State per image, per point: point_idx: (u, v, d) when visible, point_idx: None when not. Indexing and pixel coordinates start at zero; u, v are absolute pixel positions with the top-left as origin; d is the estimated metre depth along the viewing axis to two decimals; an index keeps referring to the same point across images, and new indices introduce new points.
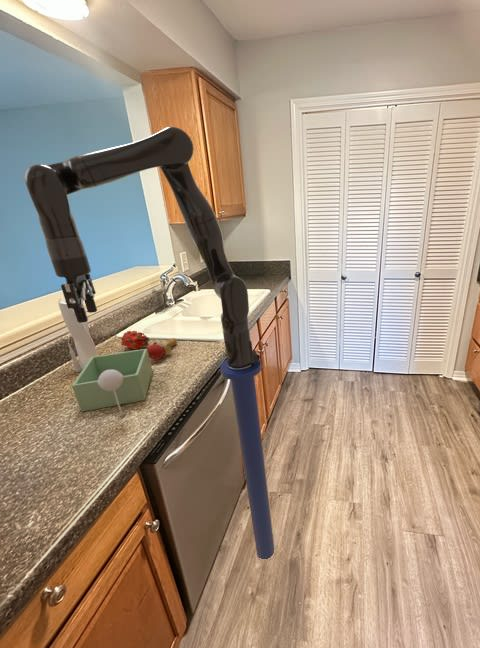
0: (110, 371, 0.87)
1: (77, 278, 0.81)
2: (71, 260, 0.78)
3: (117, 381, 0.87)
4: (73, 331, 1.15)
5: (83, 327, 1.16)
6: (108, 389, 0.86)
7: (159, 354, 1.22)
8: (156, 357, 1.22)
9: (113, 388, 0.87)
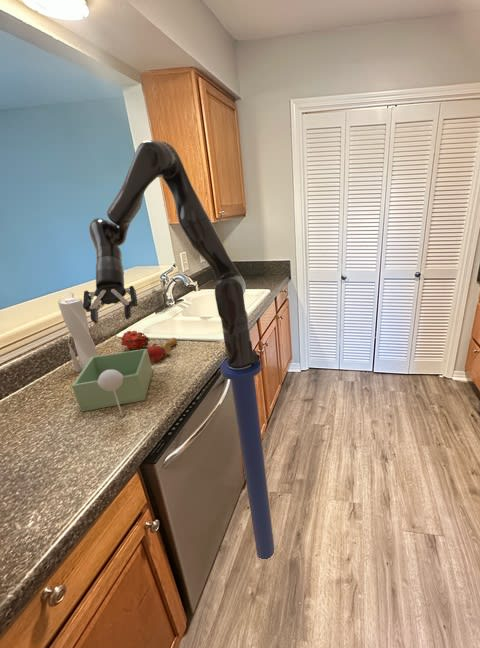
0: (110, 371, 0.87)
1: (101, 288, 0.98)
2: None
3: (117, 381, 0.87)
4: (73, 331, 1.15)
5: (83, 327, 1.16)
6: (108, 389, 0.86)
7: (158, 355, 1.23)
8: (155, 358, 1.22)
9: (113, 388, 0.87)
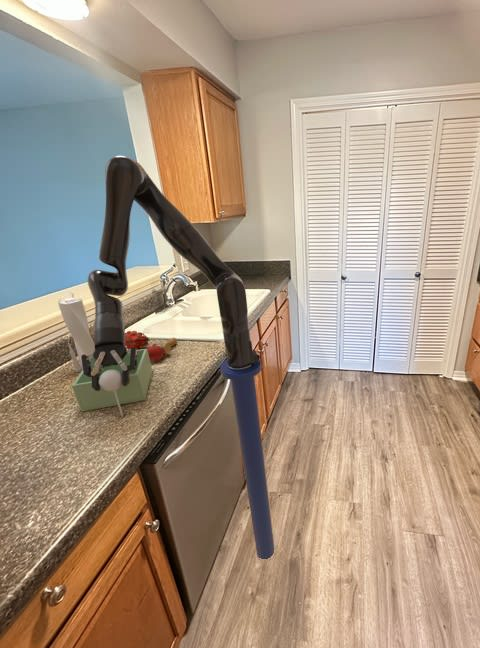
0: (111, 371, 0.87)
1: (100, 349, 0.89)
2: (94, 334, 0.90)
3: (118, 381, 0.87)
4: (73, 331, 1.15)
5: (83, 327, 1.16)
6: (109, 389, 0.86)
7: (158, 355, 1.23)
8: (155, 358, 1.22)
9: (114, 388, 0.87)
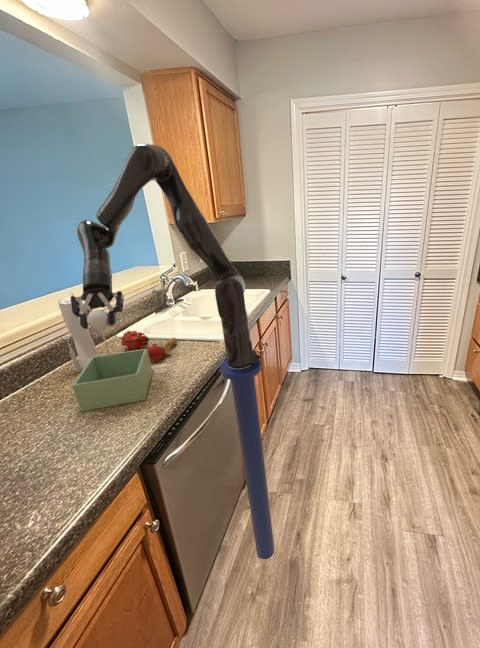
0: (98, 311, 0.94)
1: (88, 291, 0.96)
2: None
3: (105, 320, 0.94)
4: (73, 331, 1.15)
5: None
6: (96, 327, 0.93)
7: (158, 355, 1.23)
8: (155, 358, 1.22)
9: (101, 326, 0.94)
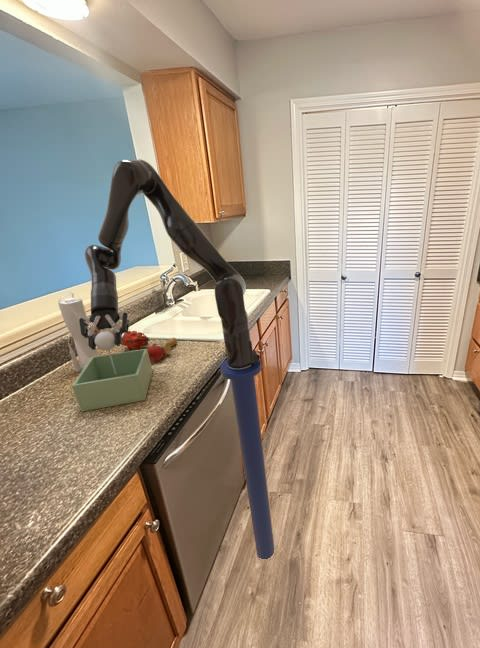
0: (106, 332, 0.99)
1: (95, 313, 1.01)
2: None
3: (111, 341, 0.99)
4: (73, 331, 1.15)
5: None
6: (103, 348, 0.99)
7: (158, 355, 1.23)
8: (155, 358, 1.22)
9: (108, 347, 0.99)
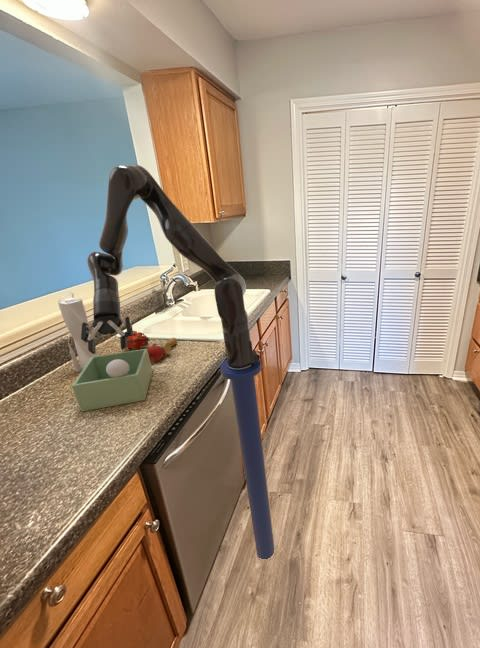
0: (119, 366, 0.96)
1: (98, 319, 1.03)
2: (93, 306, 1.04)
3: None
4: (73, 331, 1.15)
5: None
6: (113, 377, 0.97)
7: (158, 355, 1.23)
8: (155, 358, 1.22)
9: None
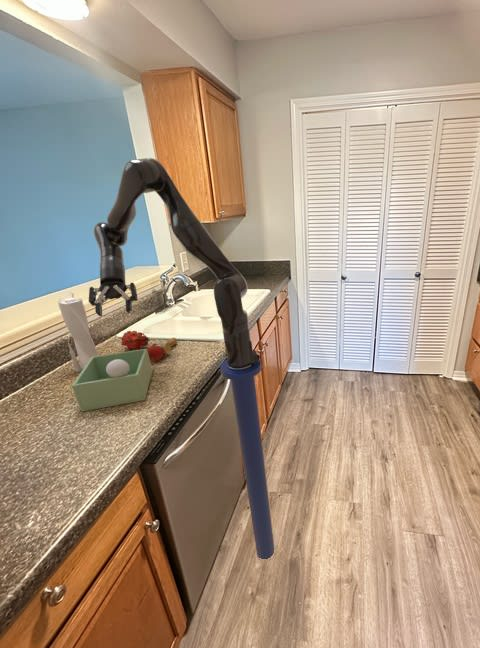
0: (119, 366, 0.96)
1: (104, 284, 1.09)
2: (100, 272, 1.10)
3: None
4: (73, 331, 1.15)
5: (83, 327, 1.16)
6: (113, 377, 0.97)
7: (158, 355, 1.23)
8: (155, 358, 1.22)
9: None
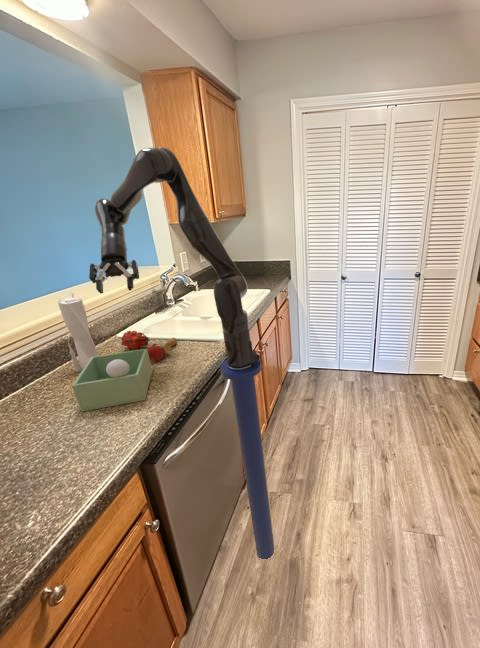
0: (119, 366, 0.96)
1: (105, 261, 1.06)
2: (101, 249, 1.07)
3: None
4: (73, 331, 1.15)
5: (83, 327, 1.16)
6: (113, 377, 0.97)
7: (158, 355, 1.23)
8: (155, 358, 1.22)
9: None
